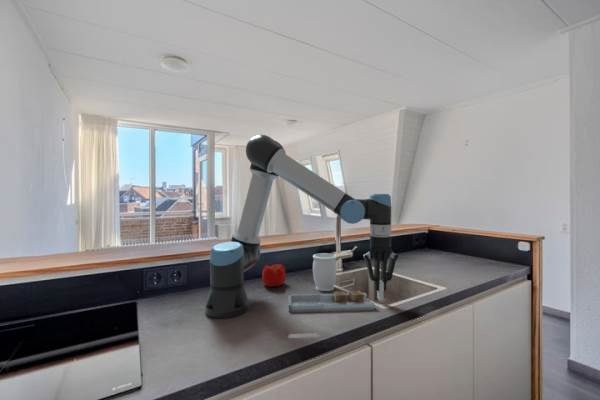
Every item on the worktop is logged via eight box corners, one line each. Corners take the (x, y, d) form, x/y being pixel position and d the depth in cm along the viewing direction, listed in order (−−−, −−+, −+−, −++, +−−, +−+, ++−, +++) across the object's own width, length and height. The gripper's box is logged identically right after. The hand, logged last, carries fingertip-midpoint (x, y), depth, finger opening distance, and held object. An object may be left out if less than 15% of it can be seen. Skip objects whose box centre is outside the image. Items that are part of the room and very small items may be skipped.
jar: (335, 295, 114) (335, 258, 114) (310, 293, 116) (310, 257, 116) (337, 286, 125) (337, 253, 124) (314, 285, 127) (314, 252, 126)
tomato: (265, 290, 120) (265, 269, 120) (260, 282, 131) (260, 263, 131) (289, 287, 123) (289, 267, 123) (282, 280, 135) (282, 261, 134)
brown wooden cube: (353, 306, 100) (353, 295, 100) (349, 302, 104) (349, 291, 104) (363, 305, 101) (363, 294, 101) (359, 301, 105) (359, 290, 105)
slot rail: (288, 314, 96) (288, 306, 96) (288, 302, 107) (288, 294, 107) (374, 312, 97) (374, 303, 97) (365, 300, 108) (365, 292, 108)
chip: (335, 306, 100) (335, 295, 100) (333, 302, 104) (333, 291, 104) (346, 306, 100) (346, 295, 100) (344, 301, 104) (344, 291, 104)
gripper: (366, 237, 98) (366, 303, 99) (402, 236, 99) (401, 302, 100) (360, 234, 106) (360, 295, 106) (393, 233, 107) (393, 294, 107)
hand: (380, 299), depth 103 cm, fingers closed
